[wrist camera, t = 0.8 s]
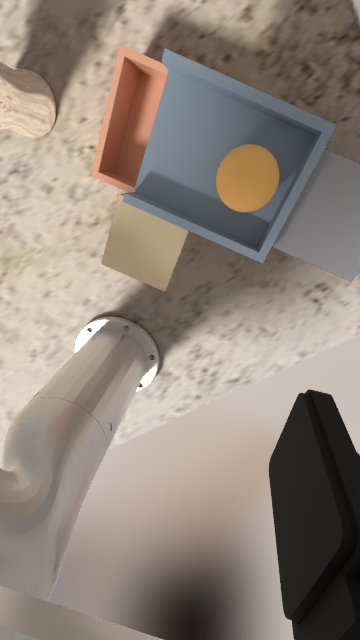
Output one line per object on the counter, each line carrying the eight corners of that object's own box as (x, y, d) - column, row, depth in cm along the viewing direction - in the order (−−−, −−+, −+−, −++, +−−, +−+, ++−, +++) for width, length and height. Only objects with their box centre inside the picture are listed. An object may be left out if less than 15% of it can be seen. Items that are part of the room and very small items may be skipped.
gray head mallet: (394, 174, 24) (447, 173, 18) (293, 326, 31) (305, 364, 25) (173, 76, 24) (149, 41, 18) (121, 251, 31) (91, 270, 25)
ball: (258, 217, 22) (261, 226, 19) (209, 196, 22) (203, 200, 19) (287, 160, 21) (296, 158, 17) (233, 137, 21) (231, 129, 17)
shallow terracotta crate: (195, 213, 35) (189, 218, 30) (110, 175, 35) (91, 175, 30) (237, 107, 30) (236, 96, 25) (138, 64, 30) (119, 44, 25)
